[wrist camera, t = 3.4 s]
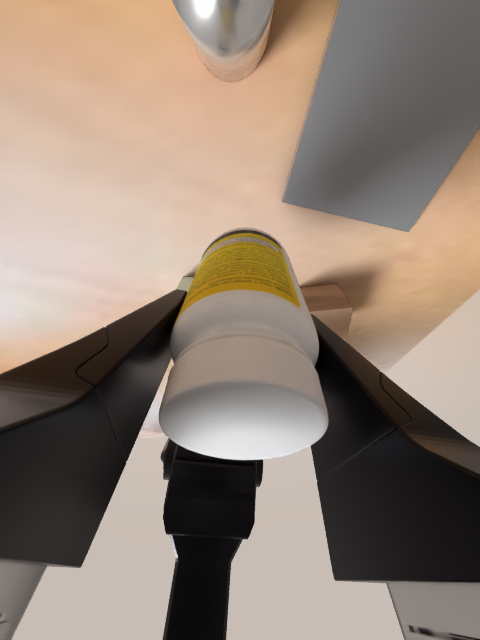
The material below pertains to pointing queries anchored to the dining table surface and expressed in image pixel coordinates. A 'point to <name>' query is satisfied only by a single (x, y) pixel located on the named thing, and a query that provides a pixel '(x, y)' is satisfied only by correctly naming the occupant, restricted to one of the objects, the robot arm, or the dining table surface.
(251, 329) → the supplement bottle
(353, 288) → the dining table surface
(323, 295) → the walnut block
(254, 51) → the metal shaker
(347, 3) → the coaster
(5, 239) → the dining table surface
